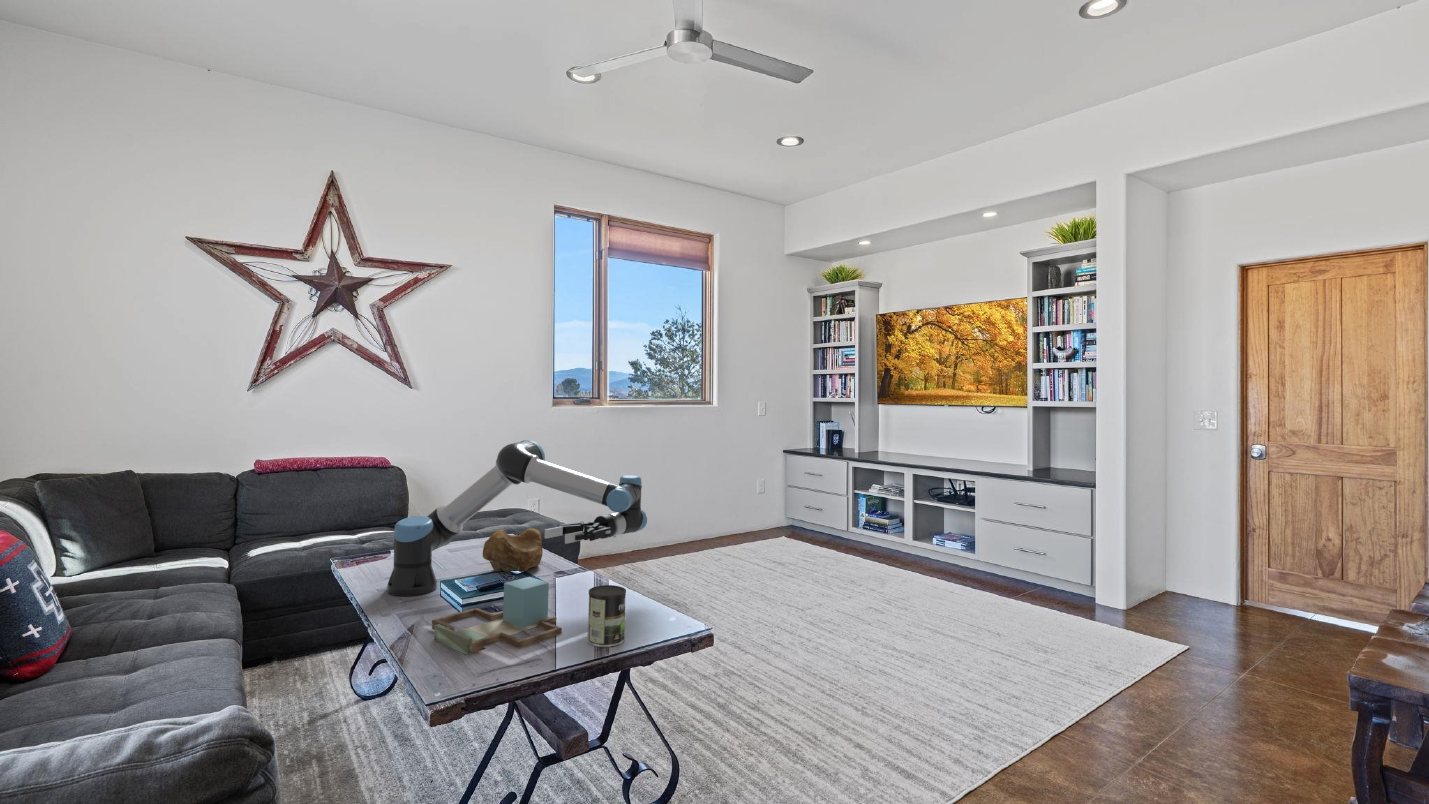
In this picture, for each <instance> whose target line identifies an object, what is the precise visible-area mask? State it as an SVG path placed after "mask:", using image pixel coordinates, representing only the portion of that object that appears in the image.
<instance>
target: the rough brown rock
mask: <svg viewBox="0 0 1429 804" xmlns="http://www.w3.org/2000/svg"><path fill="white" fill-rule="evenodd" d="M543 551H544V550H543V545H542V534H541V532H540V531H539V529H537V528H533V527H529V528H527V529H526V530H525V531H523V532H522V533H521V534H519V535H518V534H508V533H507V532H506V531H505V530H503V529H498V530H496V531H495V532H494V533H492V534H491V535H490V536H489V538H488V539H487V540H485V543H484V545H483V549H482V558H483V559H484V560H486V561H489V563H490V565H491V568H492V569H493V571H494V572H501V571H503V572H505V571H509V572H510V571H525V572H526V571H528V570H529V569H530V568H537V567H539V565H540V564H541V560H542V559H543V558H542V557H543Z"/></svg>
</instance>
